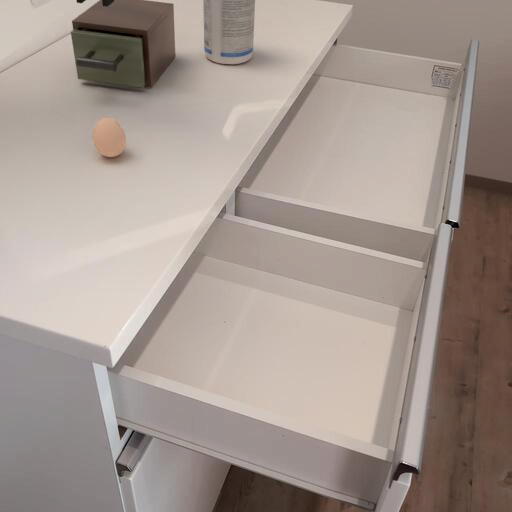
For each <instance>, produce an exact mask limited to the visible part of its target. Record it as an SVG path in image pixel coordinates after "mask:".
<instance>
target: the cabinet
mask: <svg viewBox="0 0 512 512" xmlns="http://www.w3.org/2000/svg"><path fill="white" fill-rule="evenodd" d="M71 24H72V31H73V30H80V31H82V29H83V28H88V29H96V30H104V31H112V32H120V33H127V34H135V35H143V49H144V62H145V76H146V77H145V86H144V87H143V88H145V89H152V88H153V87H154V85H155V84H156V83H157V82H158V81H159V79H160V78H161V77H162V75H163V74H164V73H165V71H166V70H167V69H168V68H169V66H170V65H171V64H172V62H174V60H175V58H176V37H175V36H176V35H175V34H176V33H175V7H174V3H171V2H162V1H156V0H155V1H154V0H114V2H113V3H111V4H110V5H109V6H108V7H107V6H103V4H102V0H97V2H95V3H94V4H93V5H91V6H90V7H89V8H87V9H86V10H84V12H82V13H80V14H79V15H78V16H76V17H75V18H74V19H72V20H71Z"/></svg>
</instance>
